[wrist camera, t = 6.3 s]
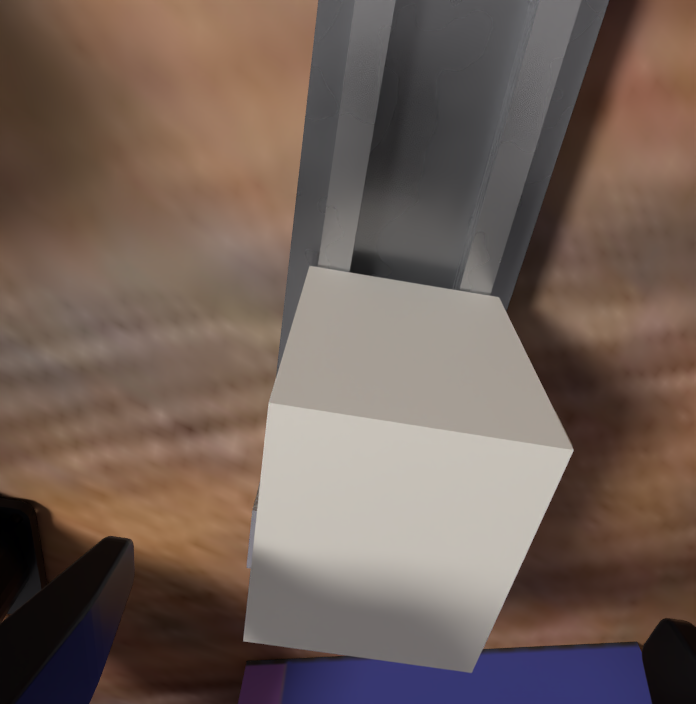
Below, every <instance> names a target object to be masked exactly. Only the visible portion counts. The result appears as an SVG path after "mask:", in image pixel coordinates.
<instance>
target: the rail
mask: <svg viewBox="0 0 696 704" xmlns="http://www.w3.org/2000/svg"><path fill="white" fill-rule="evenodd" d="M608 2H609V0H318V9H317V18H316V27H315V36H314V45H313V54H312V63H311V71H310V80H309V89H308V98H307V107H306V116H305V125H304V134H303V143H302V151H301V160H300V169H299V178H298V187H297V196H296V205H295V214H294V223H293V231H292V240H291V249H290V258H289V267H288V276H287V285H286V294H285V303H284V311H283V320H282V329H281V338H280V347H279V356H278V365H277V373H278V370H279V367H280V363H281V360H282V357H283V353H284V350H285V347H286V343H287V340H288V336H289V333H290V330H291V326H292V323H293V320H294V316H295V313H296V310H297V306H298V303H299V300H300V296H301V293H302V289H303V286H304V283H305V279H306V276H307V273H308V269H309V266H314V267H320V268H326V269H332V270H338V271H344V272H350V273H356V274H362V275H368V276H374V277H380V278H386V279H392V280H398V281H404V282H410V283H416V284H422V285H428V286H434V287H440V288H446V289H452V290H458V291H464V292H470V293H476V294H483V295H489V296H495V297H499V298H500V300H501V302H502V304H503V307H504V309H505V311H507V308H508V305H509V302H510V299H511V296H512V293H513V290H514V287H515V284H516V281H517V278H518V275H519V272H520V269H521V266H522V263H523V260H524V257H525V254H526V251H527V248H528V245H529V242H530V239H531V236H532V233H533V230H534V227H535V224H536V221H537V217H538V214H539V211H540V208H541V205H542V202H543V199H544V196H545V193H546V190H547V187H548V184H549V181H550V178H551V175H552V172H553V169H554V166H555V163H556V160H557V157H558V154H559V151H560V148H561V145H562V142H563V139H564V136H565V133H566V130H567V127H568V124H569V121H570V118H571V115H572V111H573V108H574V105H575V102H576V99H577V96H578V93H579V90H580V87H581V84H582V81H583V78H584V75H585V72H586V69H587V66H588V63H589V60H590V57H591V54H592V51H593V48H594V45H595V42H596V39H597V36H598V33H599V30H600V27H601V24H602V21H603V18H604V15H605V12H606V9H607V6H608ZM276 377H277V374H276ZM259 489H260V484H259V488H258V491H257V495H256V499H255V503H254V507H253V510H252V520H251V530H250V539H249V549H248V559H247V568H251V563H252V554H253V545H254V535H255V526H256V517H257V508H258V498H259Z"/></svg>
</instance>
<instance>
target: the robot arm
mask: <svg viewBox="0 0 696 704" xmlns="http://www.w3.org/2000/svg"><path fill="white" fill-rule="evenodd" d="M134 575H135V566H134V546H133V542H132V540H131V539H128V538H121V537H114V536H108V537H106V538H104V539H102V540H101V541H100V542H99V543H97V544H96V545H95V546H94V547H93V548H91V549H90V550H89V551H88V552H86V553H85V554H84V555H83V556H82V557H80V558H79V559H78V560H77V561H76V562H74V563H73V564H72V565H71V566H69V567H68V568H67V569H66V570H65V571H63V572H62V573H61V574H60V575H59V576H57V577H56V578H55V579H54V580H52V581H51V582H50V583H49V584H48V585H47V581H46V575H45V569H44V563H43V556H42V550H41V544H40V538H39V532H38V525H37V519H36V513H35V510H34V508H33V507H32V506H31V505H29V504H28V503H26V502H22V501H17V500H10V499H4V498H0V704H89V703H90V701H91V698H92V696H93V694H94V692H95V689H96V687H97V685H98V682H99V680H100V677H101V674H102V672H103V669H104V666H105V663H106V660H107V658H108V655H109V652H110V649H111V646H112V643H113V640H114V637H115V634H116V631H117V629H118V626H119V623H120V620H121V617H122V614H123V611H124V608H125V605H126V602H127V600H128V597H129V594H130V591H131V588H132V585H133V581H134ZM6 614H11V615H10V616H9V617H7V618H6V619H5V620H4V621H3V619H4V617H5V616H6ZM2 621H3V622H2ZM642 662H643V666H644V671H645V675H646V680H647V684H648V689H649V693H650V698H651V702H652V704H696V627H695V626H694V625H693V624H691V623H690V622H687V621H684V620H677V619H670V618H665V619H663V620H661V621H660V622H659V624H658V625H657V626H656V628H655V629H654V631H653V632H652V634H651V635H650V637H649V638H648V639H647V641H646V642H645V644H644V646H643V649H642Z"/></svg>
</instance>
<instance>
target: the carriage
mask: <svg viewBox="0 0 696 704" xmlns="http://www.w3.org/2000/svg"><path fill="white" fill-rule="evenodd" d="M573 451H574V450H573V447H572V443H571V441H570V439H569V437H568V435H567V433H566V431H565V429H564V427H563V425H562V423H561V421H560V419H559V417H558V415H557V413H556V411H554V409H553V407H552V405H551V403H550V401H549V398H548V396H547V394H546V392H545V390H544V388H543V386H542V384H541V382H540V380H539V378H538V376H537V374H536V372H535V370H534V368H533V366H532V364H531V362H530V360H529V358H528V356H527V354H526V351H525V349H524V347H523V345H522V343H521V341H520V339H519V337H518V335H517V333H516V331H515V329H514V327H513V325H512V323H511V321H510V319H509V317H508V315H507V313H506V311H505V309H504V307H503V304H502V302H501V300H500V298H499V297H495V296H489V295H483V294H476V293H470V292H464V291H458V290H452V289H446V288H440V287H434V286H428V285H422V284H416V283H410V282H404V281H398V280H392V279H386V278H380V277H374V276H368V275H362V274H356V273H350V272H344V271H338V270H332V269H326V268H320V267H314V266H309V269H308V273H307V276H306V279H305V283H304V286H303V289H302V293H301V296H300V300H299V303H298V306H297V310H296V313H295V316H294V320H293V323H292V326H291V330H290V333H289V336H288V340H287V343H286V347H285V350H284V353H283V357H282V360H281V363H280V367H279V370H278V373H277V377H276V380H275V383H274V387H273V390H272V394H271V397H270V400H269V405H268V415H267V424H266V433H265V443H264V452H263V461H262V470H261V480H260V489H259V498H258V508H257V517H256V526H255V535H254V545H253V554H252V563H251V572H250V582H249V591H248V600H247V610H246V619H245V628H244V637H243V641H245V642H252V643H260V644H267V645H274V646H281V647H289V648H296V649H303V650H310V651H317V652H325V653H332V654H339V655H346V656H353V657H361V658H368V659H375V660H382V661H389V662H397V663H404V664H411V665H418V666H425V667H433V668H440V669H447V670H454V671H461V672H469V673H472V671H473V669H474V667H475V665H476V663H477V660H478V658H479V656H480V654H481V652H482V650H483V647H484V645H485V643H486V641H487V639H488V636H489V634H490V632H491V630H492V628H493V626H494V623H495V621H496V619H497V617H498V615H499V612H500V610H501V608H502V606H503V604H504V602H505V599H506V597H507V595H508V593H509V591H510V588H511V586H512V584H513V582H514V580H515V578H516V575H517V573H518V571H519V569H520V567H521V564H522V562H523V560H524V558H525V556H526V554H527V551H528V549H529V547H530V545H531V543H532V540H533V538H534V536H535V534H536V532H537V530H538V527H539V525H540V523H541V521H542V519H543V516H544V514H545V512H546V510H547V508H548V505H549V503H550V501H551V499H552V497H553V495H554V492H555V490H556V488H557V486H558V484H559V481H560V479H561V477H562V475H563V473H564V471H565V468H566V466H567V464H568V462H569V460H570V457H571V455H572V453H573Z"/></svg>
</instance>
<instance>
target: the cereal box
mask: <svg viewBox="0 0 696 704" xmlns="http://www.w3.org/2000/svg"><path fill="white" fill-rule="evenodd" d="M238 704H652V702H651V698H650V693H649V689H648V684H647V680H646V675H645V671H644V666H643V662H642V652H641V650H640V648H639V645H638V643H637V642H621V643H601V644H581V645H560V646H540V647H520V648H499V649H483V650H482V652H481V654H480V656H479V658H478V660H477V663H476V665H475V667H474V669H473V671H472V673H469V672H461V671H454V670H447V669H440V668H433V667H425V666H418V665H411V664H404V663H397V662H389V661H382V660H375V659H368V658H361V657H353V656H336V657H316V658H296V659H275V660H255V661H247V662H246V667H245V672H244V677H243V682H242V686H241V691H240V696H239V701H238Z"/></svg>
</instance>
